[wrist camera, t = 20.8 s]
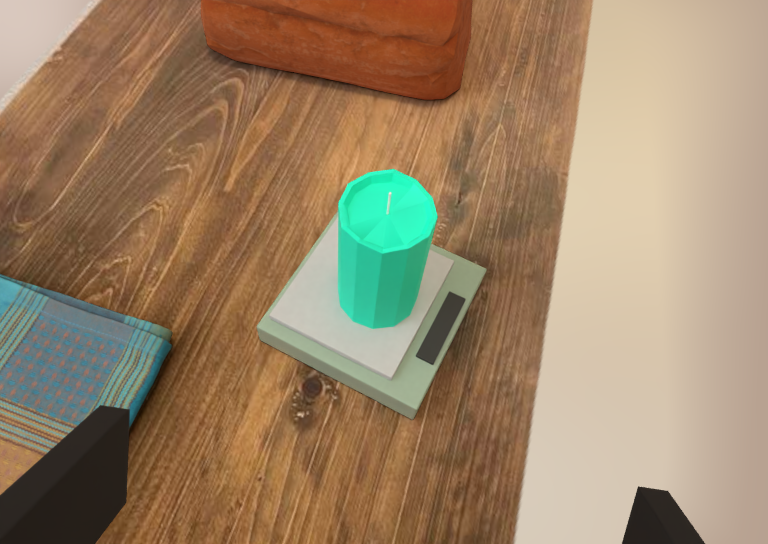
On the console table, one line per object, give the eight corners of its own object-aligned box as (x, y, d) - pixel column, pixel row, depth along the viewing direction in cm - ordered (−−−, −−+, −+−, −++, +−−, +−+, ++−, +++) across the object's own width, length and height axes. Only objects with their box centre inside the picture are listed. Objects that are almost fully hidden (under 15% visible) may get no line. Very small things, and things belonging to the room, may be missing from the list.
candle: (343, 254, 46) (345, 147, 35) (420, 264, 46) (444, 160, 35) (331, 323, 43) (330, 228, 32) (413, 334, 43) (438, 243, 32)
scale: (480, 283, 49) (488, 264, 46) (413, 420, 43) (418, 407, 40) (342, 219, 51) (343, 198, 49) (259, 340, 45) (255, 323, 42)
